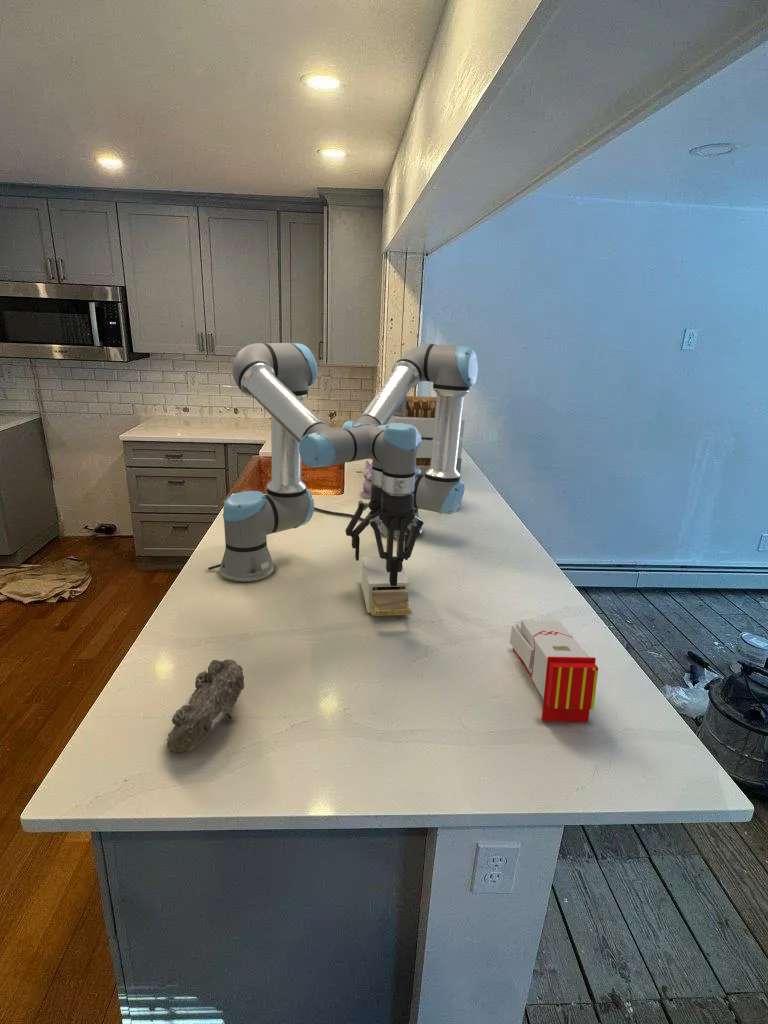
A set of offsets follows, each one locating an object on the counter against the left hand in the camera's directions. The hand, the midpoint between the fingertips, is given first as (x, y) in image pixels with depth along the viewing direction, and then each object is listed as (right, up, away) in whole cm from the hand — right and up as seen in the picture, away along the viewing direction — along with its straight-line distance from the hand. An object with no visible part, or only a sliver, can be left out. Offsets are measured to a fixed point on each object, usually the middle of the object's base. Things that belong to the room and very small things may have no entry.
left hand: (393, 583), depth 139 cm
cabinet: (-2, -6, +17) cm, 18 cm away
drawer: (-2, -7, +11) cm, 13 cm away
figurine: (-7, +24, +101) cm, 104 cm away
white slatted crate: (+15, +36, +136) cm, 142 cm away
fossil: (-35, -22, -31) cm, 51 cm away
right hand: (-3, +5, +18) cm, 19 cm away
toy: (+33, -19, -15) cm, 41 cm away
